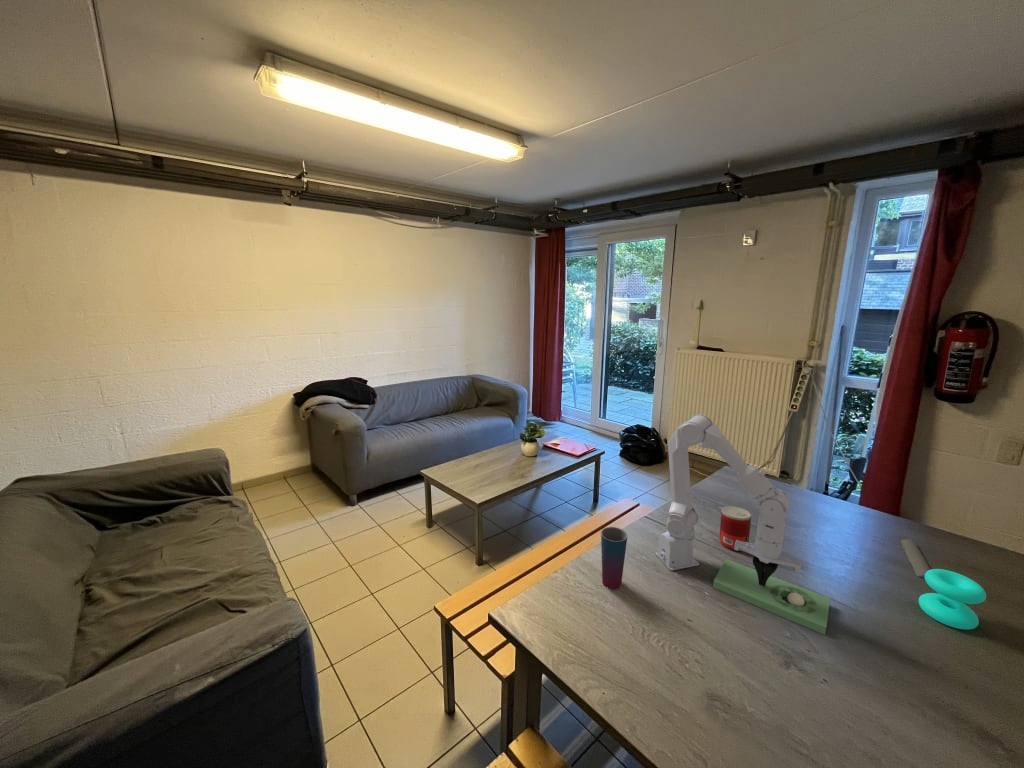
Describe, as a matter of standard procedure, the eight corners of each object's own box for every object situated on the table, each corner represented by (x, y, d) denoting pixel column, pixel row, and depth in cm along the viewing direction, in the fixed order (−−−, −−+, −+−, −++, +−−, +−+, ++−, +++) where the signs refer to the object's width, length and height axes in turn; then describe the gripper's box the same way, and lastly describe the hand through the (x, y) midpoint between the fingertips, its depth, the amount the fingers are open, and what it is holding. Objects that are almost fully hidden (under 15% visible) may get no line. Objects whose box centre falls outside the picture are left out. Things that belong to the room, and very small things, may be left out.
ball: (803, 609, 98) (787, 600, 100) (799, 613, 100) (783, 604, 103) (808, 596, 100) (791, 587, 102) (804, 600, 102) (788, 592, 104)
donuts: (943, 563, 102) (998, 590, 92) (934, 597, 104) (988, 627, 95) (915, 570, 99) (969, 599, 90) (907, 605, 101) (959, 637, 92)
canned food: (751, 553, 122) (754, 519, 120) (722, 549, 124) (725, 517, 122) (743, 538, 129) (746, 507, 127) (716, 536, 131) (718, 504, 129)
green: (712, 587, 108) (713, 580, 108) (724, 564, 117) (725, 558, 117) (825, 635, 93) (826, 627, 92) (828, 605, 102) (830, 598, 101)
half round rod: (916, 546, 125) (918, 541, 125) (937, 584, 109) (939, 578, 109) (898, 542, 128) (899, 537, 127) (916, 578, 112) (917, 573, 111)
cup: (595, 586, 109) (597, 537, 106) (602, 571, 115) (604, 524, 111) (621, 595, 106) (624, 544, 102) (627, 579, 112) (629, 530, 108)
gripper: (733, 533, 104) (727, 579, 107) (802, 556, 95) (793, 605, 98) (740, 521, 109) (734, 565, 112) (805, 542, 100) (797, 589, 103)
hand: (762, 583), depth 106 cm, fingers closed
